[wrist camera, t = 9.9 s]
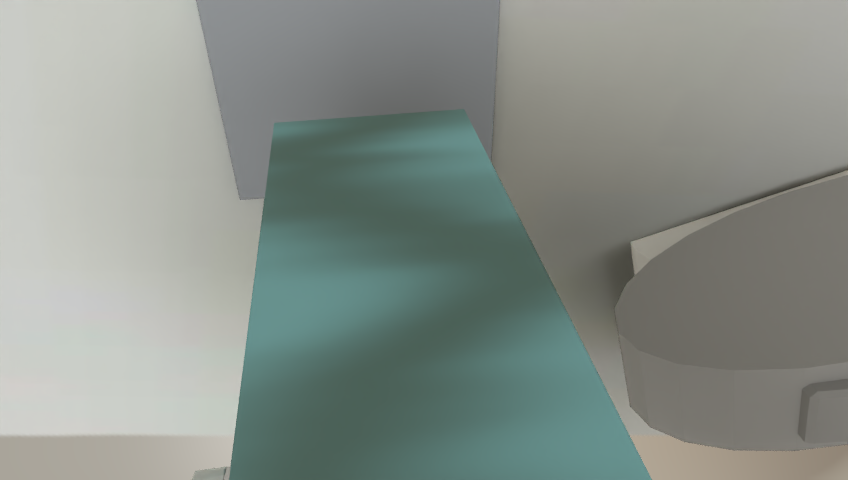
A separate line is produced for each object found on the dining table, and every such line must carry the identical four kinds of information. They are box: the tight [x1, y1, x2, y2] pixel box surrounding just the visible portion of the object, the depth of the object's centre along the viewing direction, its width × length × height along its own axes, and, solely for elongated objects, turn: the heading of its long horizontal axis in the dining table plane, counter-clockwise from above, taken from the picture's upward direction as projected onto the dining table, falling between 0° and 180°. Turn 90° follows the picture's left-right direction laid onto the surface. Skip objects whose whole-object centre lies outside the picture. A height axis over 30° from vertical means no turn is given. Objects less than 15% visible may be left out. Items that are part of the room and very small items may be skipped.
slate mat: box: [196, 0, 500, 200], centre depth 26 cm, size 12×11×1 cm
